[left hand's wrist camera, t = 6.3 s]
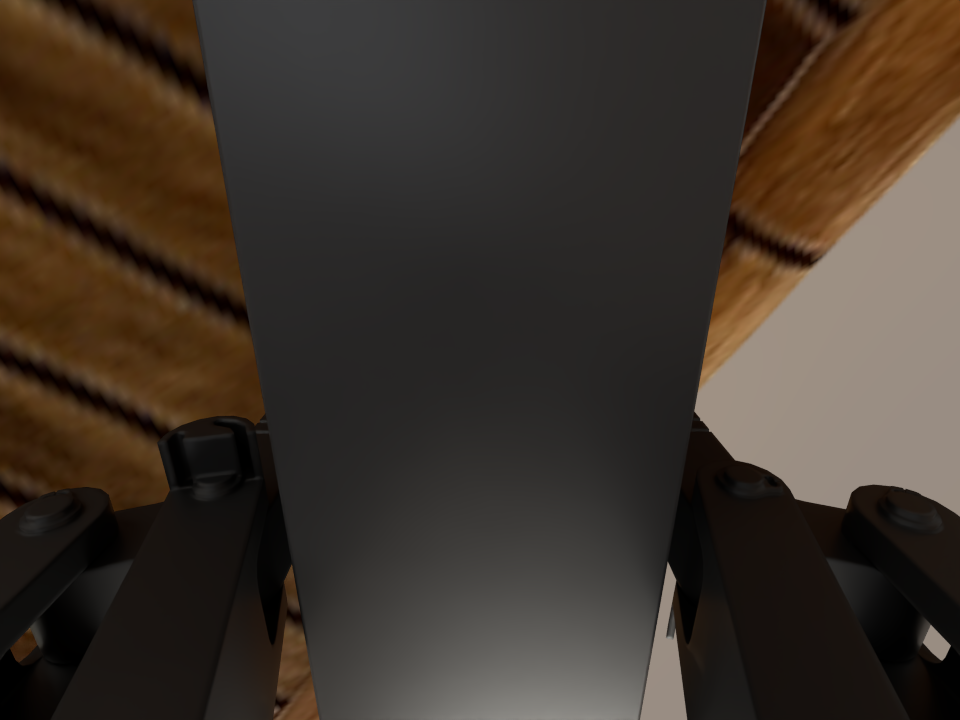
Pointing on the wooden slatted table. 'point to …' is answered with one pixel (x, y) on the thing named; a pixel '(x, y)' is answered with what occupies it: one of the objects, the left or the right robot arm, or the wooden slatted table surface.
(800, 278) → the wooden slatted table surface
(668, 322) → the bar
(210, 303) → the wooden slatted table surface
